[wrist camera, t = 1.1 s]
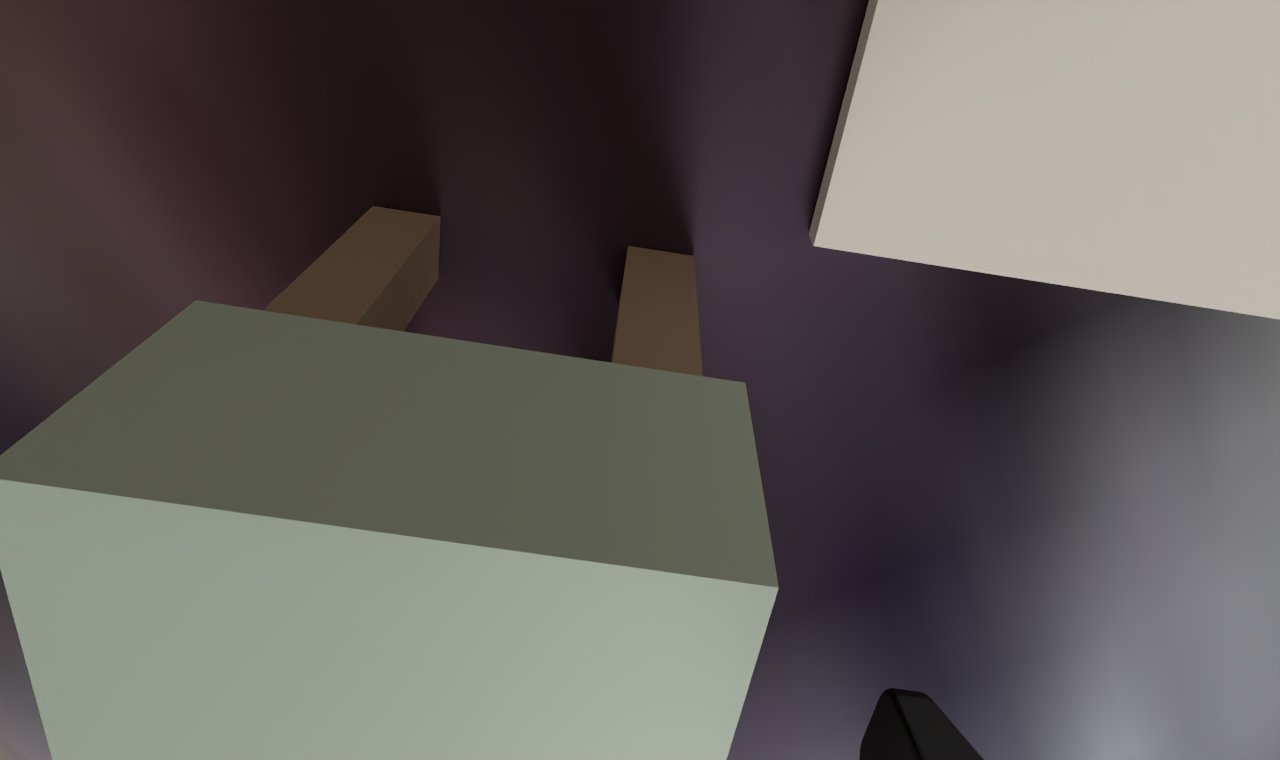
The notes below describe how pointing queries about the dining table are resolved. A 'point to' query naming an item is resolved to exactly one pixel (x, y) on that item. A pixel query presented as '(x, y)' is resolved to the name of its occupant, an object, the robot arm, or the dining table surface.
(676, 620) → the stool
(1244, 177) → the mat
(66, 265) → the dining table surface
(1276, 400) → the dining table surface
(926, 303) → the dining table surface
